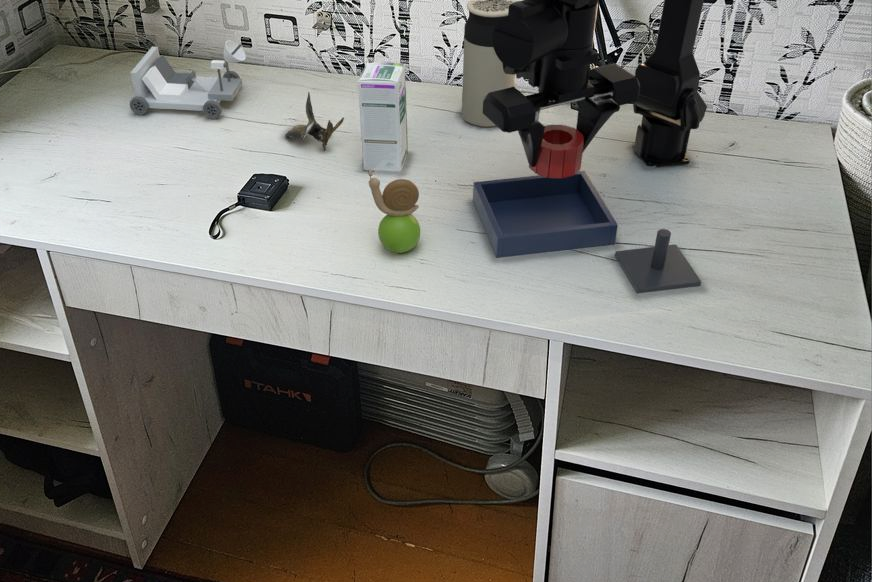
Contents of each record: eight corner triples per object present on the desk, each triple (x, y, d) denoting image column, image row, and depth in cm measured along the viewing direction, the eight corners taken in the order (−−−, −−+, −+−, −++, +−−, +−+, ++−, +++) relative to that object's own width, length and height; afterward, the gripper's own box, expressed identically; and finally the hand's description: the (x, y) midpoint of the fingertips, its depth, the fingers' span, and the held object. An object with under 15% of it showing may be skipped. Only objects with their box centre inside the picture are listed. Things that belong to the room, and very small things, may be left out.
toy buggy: (249, 32, 153) (229, 62, 144) (256, 88, 159) (237, 120, 151) (145, 27, 156) (118, 57, 147) (155, 83, 162) (131, 114, 153)
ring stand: (674, 250, 120) (683, 210, 116) (700, 288, 114) (709, 247, 110) (614, 257, 119) (620, 217, 116) (636, 295, 113) (644, 255, 110)
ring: (572, 149, 122) (575, 121, 119) (587, 176, 117) (591, 147, 114) (522, 154, 121) (524, 126, 118) (536, 181, 116) (538, 152, 113)
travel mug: (514, 127, 146) (523, 14, 134) (463, 129, 146) (467, 15, 134) (509, 103, 152) (516, -8, 140) (460, 105, 152) (463, -6, 140)
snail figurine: (369, 239, 124) (366, 159, 116) (417, 235, 125) (417, 155, 117) (373, 263, 120) (369, 182, 112) (423, 259, 121) (423, 178, 113)
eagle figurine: (354, 131, 144) (317, 102, 148) (337, 107, 138) (299, 77, 142) (320, 168, 144) (284, 138, 148) (301, 145, 138) (264, 115, 142)
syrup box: (401, 174, 137) (400, 80, 127) (361, 171, 138) (357, 78, 128) (408, 154, 141) (407, 62, 131) (369, 151, 142) (365, 60, 132)
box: (581, 191, 131) (584, 170, 129) (614, 246, 121) (618, 224, 119) (472, 203, 130) (473, 182, 128) (496, 260, 120) (497, 238, 118)
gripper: (598, 1, 116) (583, 116, 127) (463, 29, 111) (459, 147, 121) (652, 34, 108) (632, 153, 119) (509, 66, 103) (501, 188, 114)
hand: (555, 159), depth 118 cm, fingers closed on ring, 6 cm apart
